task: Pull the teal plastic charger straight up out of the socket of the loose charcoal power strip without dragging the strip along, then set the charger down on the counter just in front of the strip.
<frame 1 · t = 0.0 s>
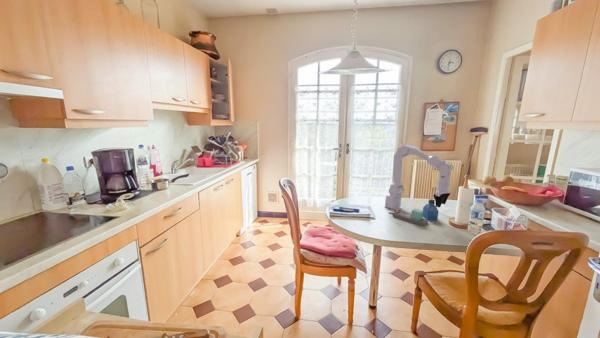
hand: (440, 205, 144), 10 cm above the table, tool pointing down, fingers open, 7 cm apart
charger: (416, 221, 144), resting on strip
perfume bottle: (429, 218, 150), on the table
strip: (409, 220, 147), on the table, touching charger
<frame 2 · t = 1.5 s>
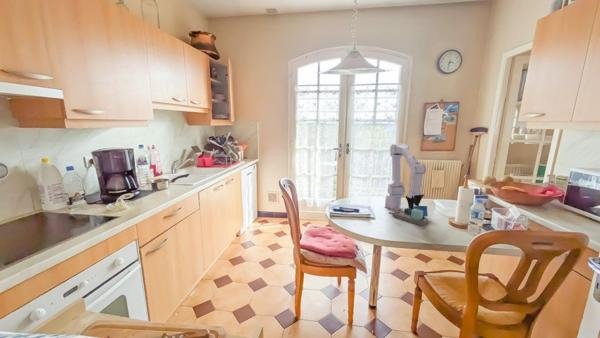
hand: (413, 206, 142), 9 cm above the table, tool pointing down, fingers open, 7 cm apart
perfume bottle: (424, 211, 150), point 4 cm above the table, touching strip
strip: (409, 220, 147), on the table, touching charger, perfume bottle
everything else where it was.
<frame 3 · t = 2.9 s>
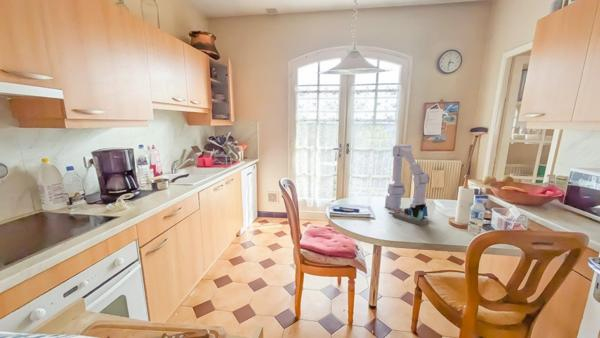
hand: (416, 216, 143), 4 cm above the table, tool pointing down, fingers closed on charger, 4 cm apart
charger: (416, 221, 144), resting on strip, touching gripper
everything else where it was.
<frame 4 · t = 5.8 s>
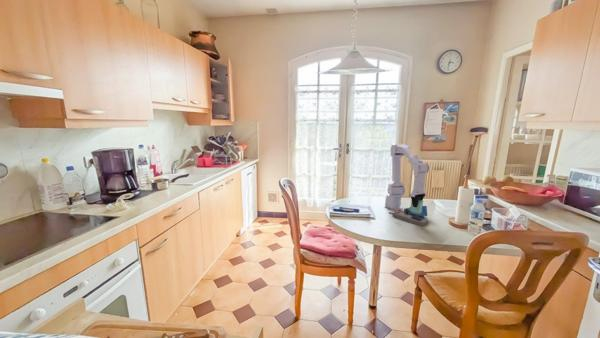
hand: (416, 206, 141), 10 cm above the table, tool pointing down, fingers closed on charger, 4 cm apart
charger: (415, 211, 142), point 7 cm above the table, touching gripper
strip: (409, 220, 147), on the table, touching perfume bottle
everything else where it was.
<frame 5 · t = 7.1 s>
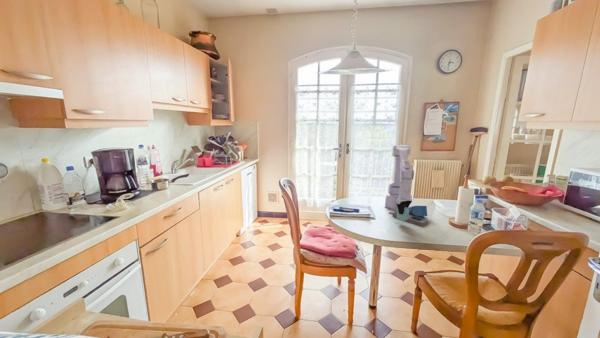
hand: (402, 212, 139), 7 cm above the table, tool pointing down, fingers closed on charger, 4 cm apart
charger: (402, 218, 140), point 4 cm above the table, touching gripper
perfume bottle: (424, 211, 150), point 4 cm above the table, touching strip
everything else where it was.
when the fingers open (5 cm above the table, at t = 8.3 s): charger drops 2 cm, on the table.
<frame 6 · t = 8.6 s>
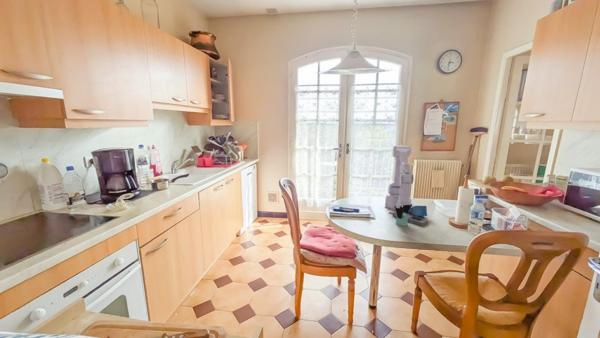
hand: (402, 216, 139), 5 cm above the table, tool pointing down, fingers open, 6 cm apart
charger: (401, 224, 140), on the table
perfume bottle: (424, 211, 150), point 4 cm above the table, touching strip
everything else where it was.
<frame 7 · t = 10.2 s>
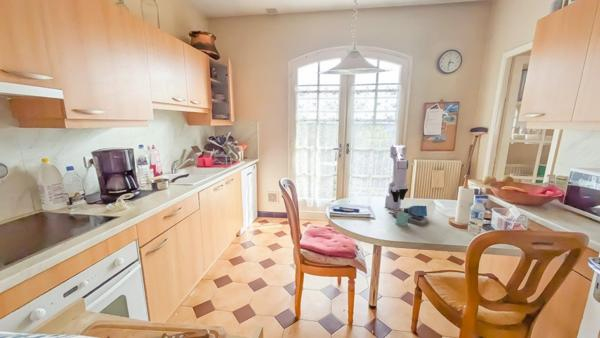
hand: (398, 200, 150), 10 cm above the table, tool pointing down, fingers open, 7 cm apart
nothing on the table moved.
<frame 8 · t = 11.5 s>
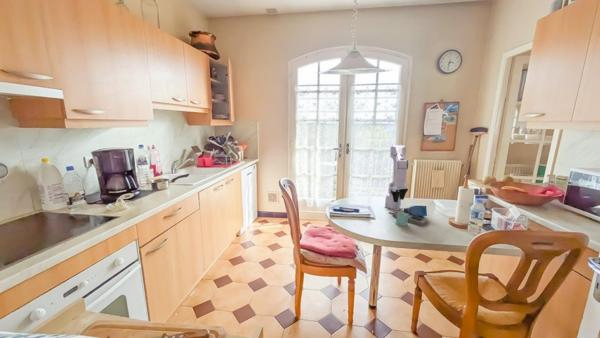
hand: (398, 200, 150), 10 cm above the table, tool pointing down, fingers open, 7 cm apart
perfume bottle: (424, 211, 151), point 4 cm above the table
strip: (409, 220, 147), on the table
everything else where it was.
at the end: charger inside the target area (0.0 cm from its centre), on the table; charger touching table; strip moved 0.1 cm from its start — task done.
